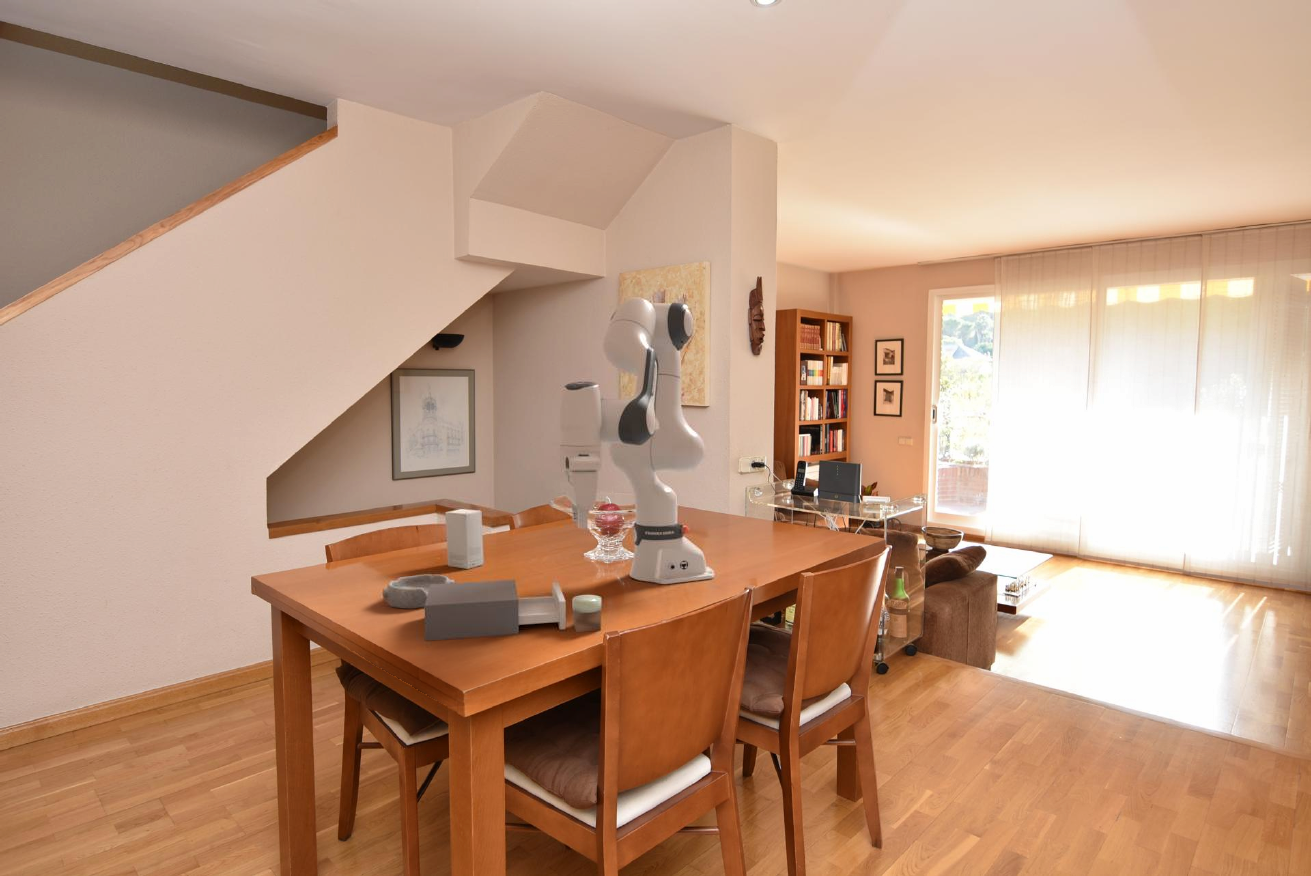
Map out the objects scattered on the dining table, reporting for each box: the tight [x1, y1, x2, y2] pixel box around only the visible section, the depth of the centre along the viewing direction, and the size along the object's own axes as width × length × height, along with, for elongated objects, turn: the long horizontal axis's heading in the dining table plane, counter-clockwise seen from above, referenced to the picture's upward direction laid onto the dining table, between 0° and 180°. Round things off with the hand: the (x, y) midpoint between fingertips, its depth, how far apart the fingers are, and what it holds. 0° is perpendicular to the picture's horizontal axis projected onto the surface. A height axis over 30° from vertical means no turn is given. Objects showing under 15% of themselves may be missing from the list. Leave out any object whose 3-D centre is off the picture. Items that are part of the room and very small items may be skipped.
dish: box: [382, 573, 455, 609], centre depth 167 cm, size 14×14×5 cm
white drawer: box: [518, 581, 567, 630], centre depth 152 cm, size 18×16×6 cm
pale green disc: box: [571, 594, 602, 613], centre depth 148 cm, size 6×6×2 cm
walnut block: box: [572, 609, 602, 633], centre depth 148 cm, size 5×5×4 cm
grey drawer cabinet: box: [424, 579, 520, 642], centre depth 150 cm, size 18×16×7 cm
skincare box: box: [444, 508, 484, 570], centre depth 201 cm, size 8×7×16 cm
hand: (579, 525), depth 150 cm, fingers open, 8 cm apart
